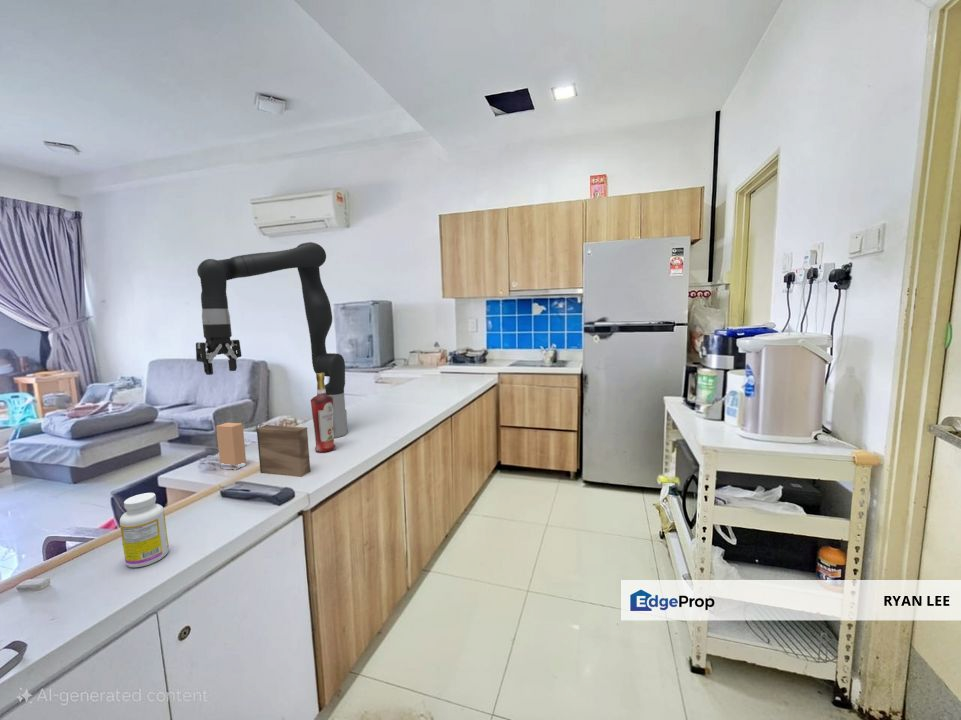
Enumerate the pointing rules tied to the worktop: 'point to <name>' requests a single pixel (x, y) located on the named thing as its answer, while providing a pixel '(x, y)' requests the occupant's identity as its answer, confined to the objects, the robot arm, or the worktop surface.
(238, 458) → the light orange tall block
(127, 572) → the worktop surface
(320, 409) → the liquor
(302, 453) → the brown wooden flat block
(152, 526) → the supplement bottle
